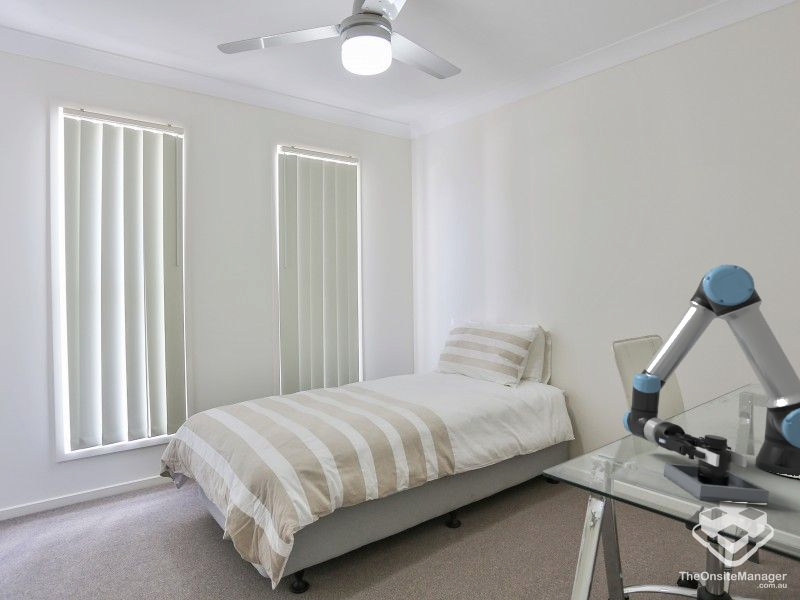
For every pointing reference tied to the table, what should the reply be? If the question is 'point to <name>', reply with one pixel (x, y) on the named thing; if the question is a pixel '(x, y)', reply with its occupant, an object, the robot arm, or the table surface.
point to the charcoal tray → (715, 486)
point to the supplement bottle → (710, 472)
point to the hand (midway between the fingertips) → (731, 461)
